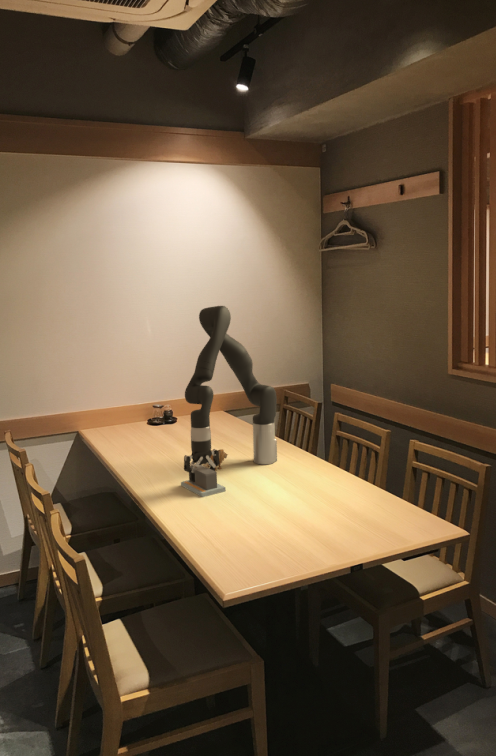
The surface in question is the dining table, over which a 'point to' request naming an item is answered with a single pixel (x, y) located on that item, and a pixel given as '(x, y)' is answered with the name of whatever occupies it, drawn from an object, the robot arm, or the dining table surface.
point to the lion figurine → (221, 458)
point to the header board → (200, 490)
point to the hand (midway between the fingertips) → (202, 479)
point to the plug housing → (205, 478)
